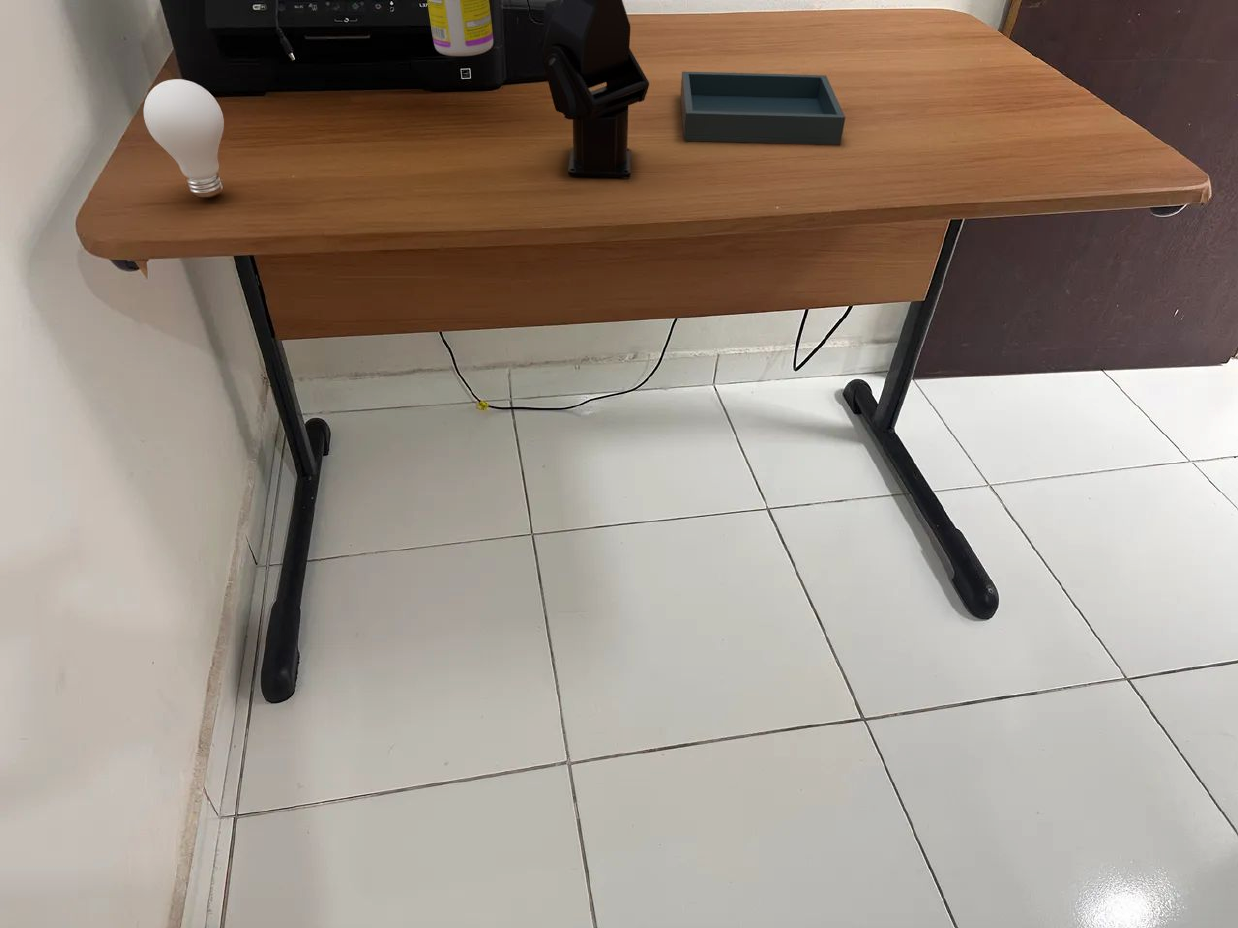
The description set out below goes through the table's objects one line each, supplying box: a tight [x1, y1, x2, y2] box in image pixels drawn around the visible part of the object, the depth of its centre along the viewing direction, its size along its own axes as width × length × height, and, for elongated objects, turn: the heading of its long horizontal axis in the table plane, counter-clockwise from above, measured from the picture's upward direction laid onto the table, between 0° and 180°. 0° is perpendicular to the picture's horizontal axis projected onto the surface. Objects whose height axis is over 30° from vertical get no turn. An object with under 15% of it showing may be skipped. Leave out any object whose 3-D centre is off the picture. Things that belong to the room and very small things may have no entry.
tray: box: [679, 70, 846, 146], centre depth 101 cm, size 14×18×3 cm
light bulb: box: [143, 78, 225, 199], centre depth 81 cm, size 7×7×11 cm
